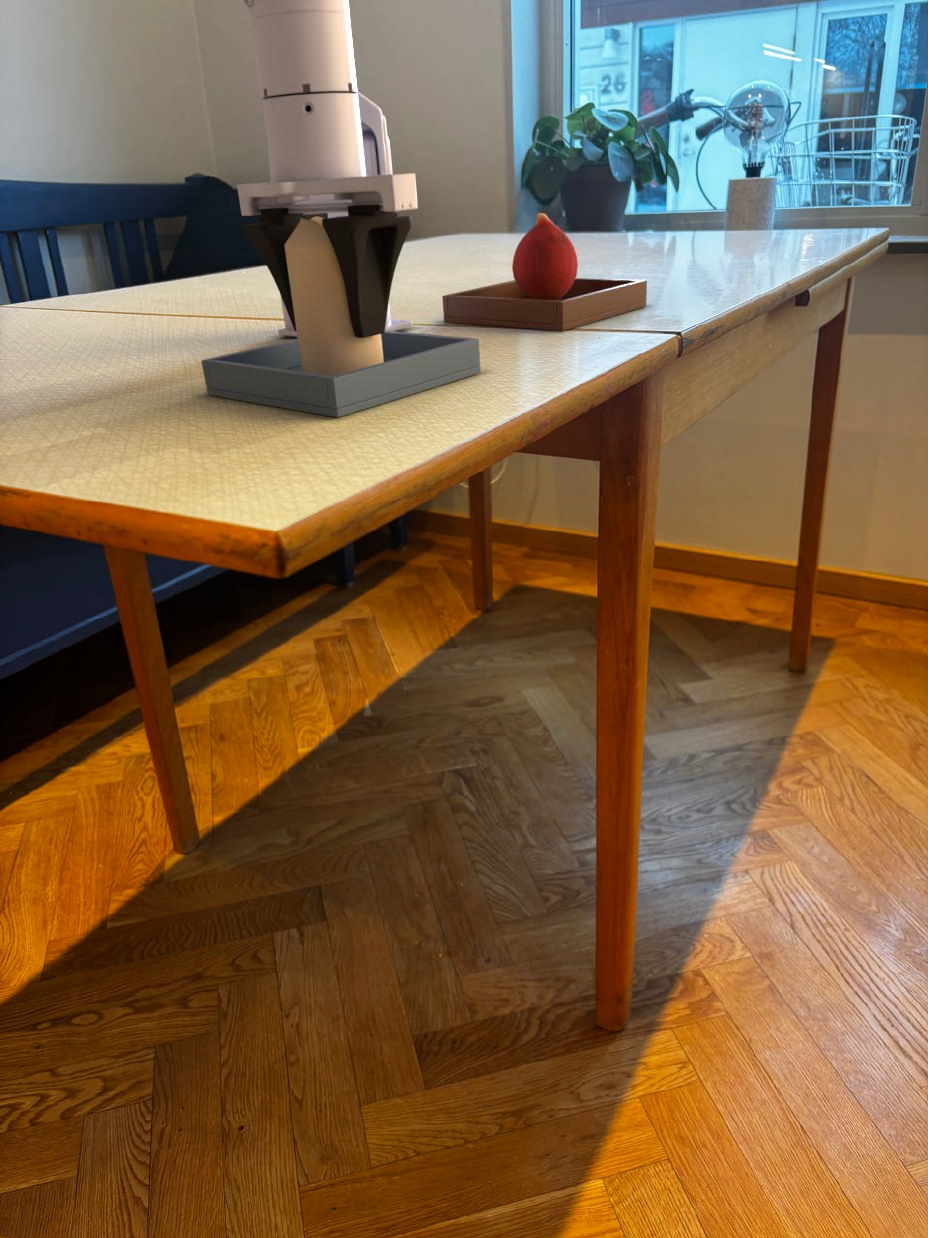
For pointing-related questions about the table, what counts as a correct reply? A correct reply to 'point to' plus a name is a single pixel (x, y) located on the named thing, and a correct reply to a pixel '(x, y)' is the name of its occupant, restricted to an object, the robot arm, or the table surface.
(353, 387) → the gray tray
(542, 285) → the onion
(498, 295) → the walnut tray
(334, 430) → the table surface
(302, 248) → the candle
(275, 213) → the robot arm
